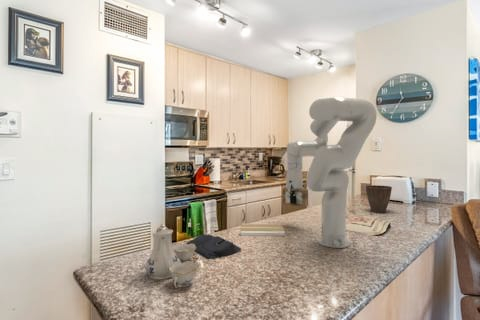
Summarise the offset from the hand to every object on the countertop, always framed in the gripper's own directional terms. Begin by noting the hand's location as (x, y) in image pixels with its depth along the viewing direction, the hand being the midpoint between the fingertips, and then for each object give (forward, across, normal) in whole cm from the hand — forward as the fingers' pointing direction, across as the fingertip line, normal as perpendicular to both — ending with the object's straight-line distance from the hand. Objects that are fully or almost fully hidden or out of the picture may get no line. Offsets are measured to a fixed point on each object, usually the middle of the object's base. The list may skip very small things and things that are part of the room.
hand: (295, 202), depth 143 cm
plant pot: (+12, -63, +26) cm, 70 cm away
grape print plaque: (+14, -21, +24) cm, 35 cm away
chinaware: (+14, +72, -8) cm, 74 cm away
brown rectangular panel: (+1, 0, 0) cm, 1 cm away
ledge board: (+13, +17, -9) cm, 23 cm away
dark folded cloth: (+14, +48, -13) cm, 51 cm away
